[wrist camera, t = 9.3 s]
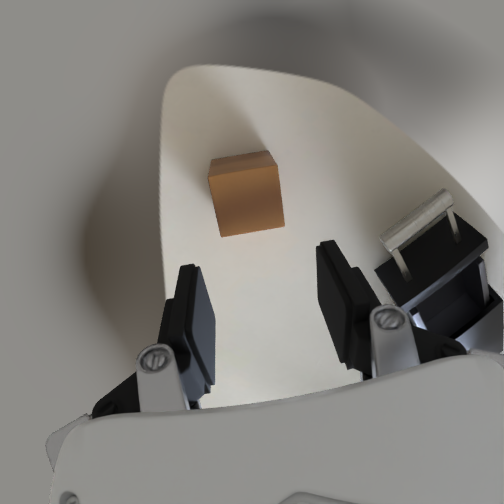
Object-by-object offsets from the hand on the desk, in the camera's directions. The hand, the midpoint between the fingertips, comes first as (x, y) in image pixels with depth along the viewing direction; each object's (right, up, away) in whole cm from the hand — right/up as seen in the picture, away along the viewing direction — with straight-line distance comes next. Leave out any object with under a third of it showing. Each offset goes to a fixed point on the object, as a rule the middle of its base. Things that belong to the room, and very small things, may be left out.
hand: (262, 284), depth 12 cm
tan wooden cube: (-1, +7, +11) cm, 13 cm away
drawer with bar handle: (+18, 0, +16) cm, 24 cm away
